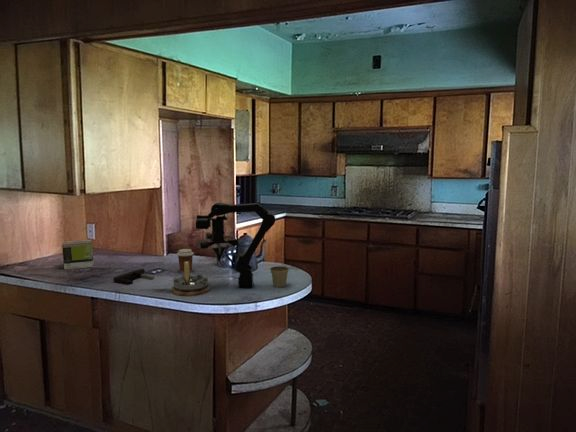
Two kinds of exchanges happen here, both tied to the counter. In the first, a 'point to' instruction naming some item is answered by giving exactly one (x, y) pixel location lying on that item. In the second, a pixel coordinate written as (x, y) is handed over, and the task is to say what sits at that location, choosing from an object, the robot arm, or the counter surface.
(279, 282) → the flower pot
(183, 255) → the coffee cup
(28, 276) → the counter surface
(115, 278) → the door handle
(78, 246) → the tea box
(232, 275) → the counter surface
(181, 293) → the base
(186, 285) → the ring nut
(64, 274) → the counter surface
